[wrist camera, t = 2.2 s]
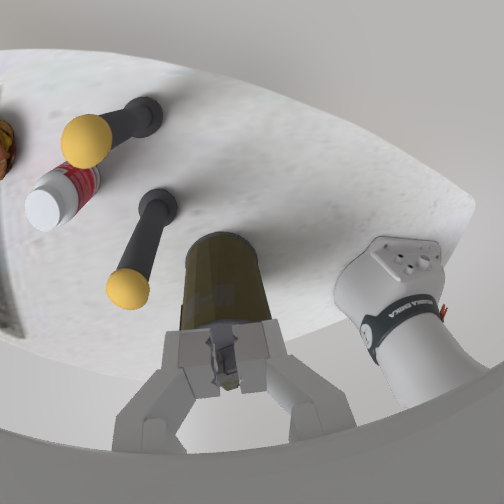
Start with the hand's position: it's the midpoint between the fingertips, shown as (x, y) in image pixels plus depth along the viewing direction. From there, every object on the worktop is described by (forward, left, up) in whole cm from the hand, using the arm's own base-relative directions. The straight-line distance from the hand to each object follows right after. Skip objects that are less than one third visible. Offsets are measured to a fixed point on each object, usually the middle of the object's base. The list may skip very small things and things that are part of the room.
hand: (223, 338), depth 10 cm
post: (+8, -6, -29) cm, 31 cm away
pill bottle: (+18, 0, -29) cm, 34 cm away
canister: (+1, +16, -29) cm, 33 cm away
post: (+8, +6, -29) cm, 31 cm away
